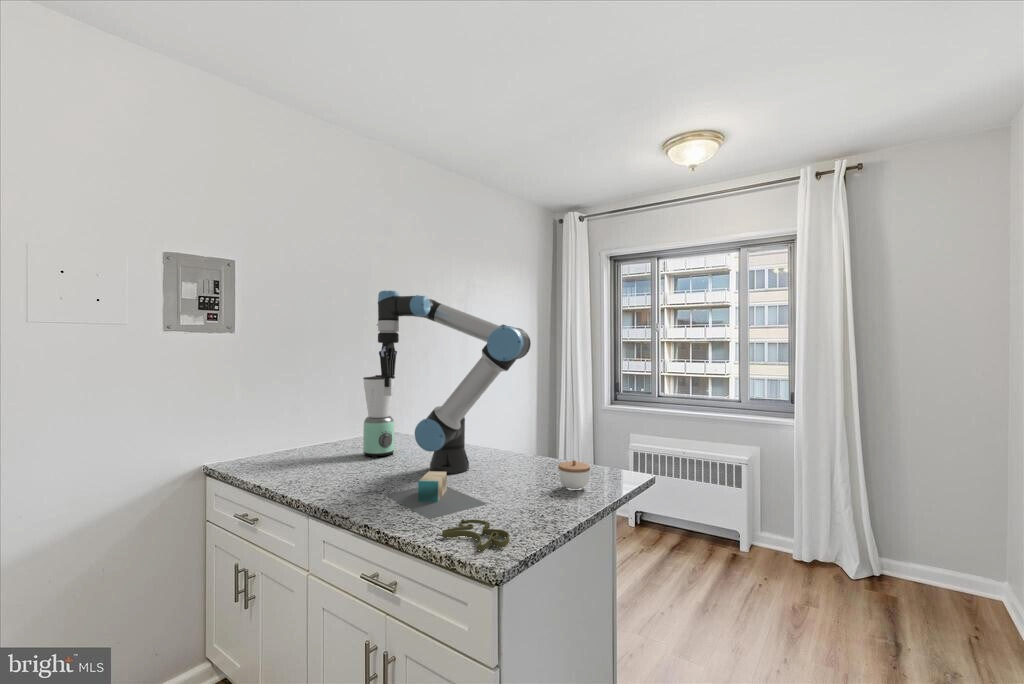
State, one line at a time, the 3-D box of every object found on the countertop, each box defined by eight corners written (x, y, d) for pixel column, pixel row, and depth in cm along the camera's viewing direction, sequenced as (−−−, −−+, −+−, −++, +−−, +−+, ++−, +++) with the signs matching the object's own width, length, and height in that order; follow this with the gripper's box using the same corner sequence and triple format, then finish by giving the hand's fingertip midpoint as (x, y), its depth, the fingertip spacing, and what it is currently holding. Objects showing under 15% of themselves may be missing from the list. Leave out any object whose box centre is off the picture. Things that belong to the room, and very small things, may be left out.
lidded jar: (593, 486, 166) (593, 458, 166) (585, 494, 156) (585, 465, 156) (564, 482, 170) (564, 455, 170) (553, 490, 160) (553, 462, 160)
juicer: (402, 455, 210) (402, 375, 211) (374, 460, 201) (374, 376, 201) (380, 449, 224) (380, 373, 224) (353, 453, 215) (353, 374, 215)
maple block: (418, 501, 146) (428, 489, 158) (437, 501, 145) (446, 490, 157) (418, 481, 146) (428, 471, 158) (437, 481, 145) (446, 471, 157)
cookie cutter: (436, 536, 122) (436, 529, 122) (469, 523, 131) (469, 516, 131) (488, 557, 111) (488, 548, 111) (521, 540, 120) (521, 532, 120)
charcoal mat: (439, 486, 165) (439, 483, 165) (488, 507, 144) (488, 503, 144) (384, 497, 152) (384, 494, 152) (429, 522, 131) (429, 519, 131)
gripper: (384, 332, 187) (384, 393, 187) (371, 331, 174) (371, 397, 174) (403, 332, 186) (403, 393, 186) (392, 331, 174) (391, 397, 173)
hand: (388, 395), depth 180 cm, fingers closed
